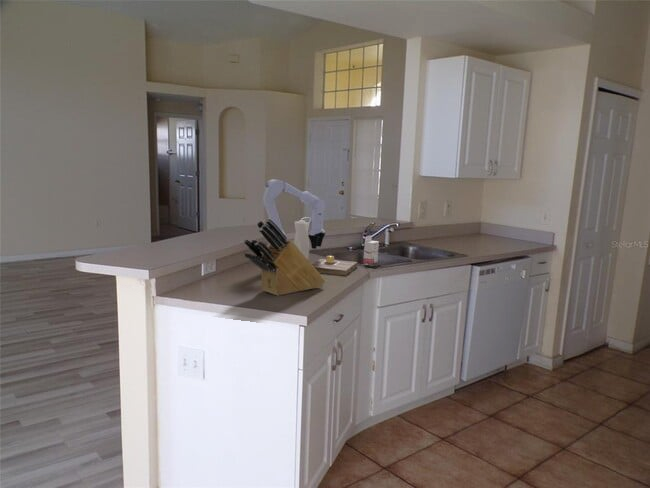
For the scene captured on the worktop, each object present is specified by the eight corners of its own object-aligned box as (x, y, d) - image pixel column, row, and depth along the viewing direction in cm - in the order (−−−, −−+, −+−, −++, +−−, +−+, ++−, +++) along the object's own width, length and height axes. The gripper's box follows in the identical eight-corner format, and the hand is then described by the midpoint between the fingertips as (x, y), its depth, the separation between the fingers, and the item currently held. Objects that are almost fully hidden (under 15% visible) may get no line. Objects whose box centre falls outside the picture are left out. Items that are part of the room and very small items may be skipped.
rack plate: (345, 275, 239) (346, 270, 239) (306, 271, 245) (306, 265, 244) (356, 267, 260) (357, 261, 259) (320, 263, 266) (320, 258, 265)
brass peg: (331, 269, 252) (332, 257, 251) (324, 268, 254) (325, 256, 253) (334, 267, 256) (335, 256, 255) (327, 266, 257) (328, 255, 256)
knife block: (241, 294, 199) (241, 217, 194) (308, 282, 222) (310, 213, 217) (257, 300, 191) (258, 220, 186) (325, 287, 214) (328, 216, 209)
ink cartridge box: (371, 264, 268) (372, 237, 266) (363, 263, 270) (364, 236, 268) (378, 262, 275) (379, 235, 273) (369, 260, 278) (371, 234, 275)
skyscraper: (305, 274, 239) (307, 216, 234) (311, 278, 231) (313, 218, 227) (288, 275, 236) (290, 216, 231) (294, 278, 228) (295, 218, 224)
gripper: (320, 223, 251) (319, 250, 253) (329, 220, 264) (328, 246, 266) (307, 222, 253) (306, 248, 255) (316, 219, 266) (315, 244, 269)
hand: (316, 247), depth 261 cm, fingers open, 7 cm apart
